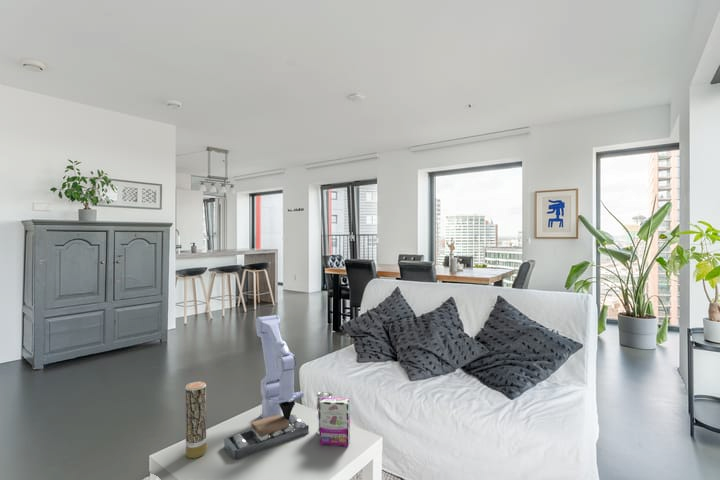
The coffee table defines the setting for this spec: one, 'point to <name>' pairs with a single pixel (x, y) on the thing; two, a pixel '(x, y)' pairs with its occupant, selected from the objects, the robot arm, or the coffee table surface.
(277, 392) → the robot arm
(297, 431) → the roller bed
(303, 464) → the coffee table surface
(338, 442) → the candy bar box
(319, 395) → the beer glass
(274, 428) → the slab
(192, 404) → the paper tube
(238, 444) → the roller
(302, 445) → the coffee table surface
